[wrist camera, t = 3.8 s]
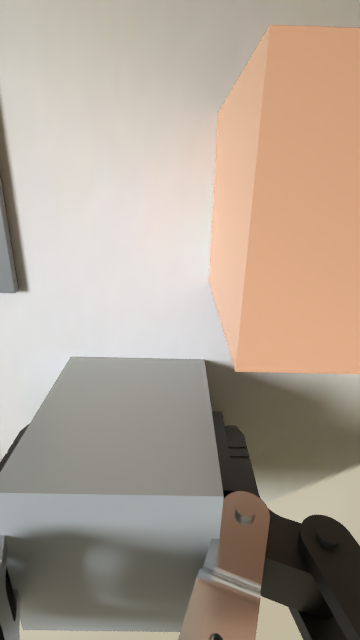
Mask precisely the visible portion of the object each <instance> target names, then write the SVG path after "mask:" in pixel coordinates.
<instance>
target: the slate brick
mask: <svg viewBox="0 0 360 640" xmlns="http://www.w3.org/2000/svg"><path fill="white" fill-rule="evenodd" d="M223 498H224V495H223V488H222V481H221V474H220V467H219V460H218V452H217V445H216V438H215V431H214V424H213V417H212V410H211V402H210V395H209V388H208V381H207V374H206V367H205V360H200V359H152V358H104V357H70V359H69V361H68V362H67V364H66V366H65V367H64V369H63V371H62V372H61V374H60V375H59V377H58V379H57V380H56V382H55V384H54V385H53V387H52V388H51V390H50V392H49V393H48V395H47V397H46V398H45V400H44V402H43V403H42V405H41V406H40V408H39V410H38V411H37V413H36V415H35V416H34V418H33V420H32V421H31V423H30V424H29V426H28V428H27V429H26V431H25V433H24V434H23V436H22V438H21V439H20V441H19V442H18V444H17V446H16V447H15V449H14V451H13V452H12V454H11V456H10V457H9V459H8V460H7V462H6V464H5V465H4V467H3V469H2V470H1V472H0V535H5V539H6V543H7V547H8V553H7V564H6V566H7V569H8V573H9V577H10V581H11V585H12V589H18V592H19V596H20V600H21V603H20V620H21V624H22V628H23V630H68V631H150V632H180V631H181V628H182V625H183V621H184V618H185V615H186V611H187V608H188V604H189V601H190V598H191V594H192V591H193V588H194V584H195V581H196V578H197V575H198V572H199V570H200V568H202V567H203V565H204V562H205V559H206V555H207V552H208V548H209V545H210V541H211V538H212V539H219V538H220V528H221V518H222V508H223Z"/></svg>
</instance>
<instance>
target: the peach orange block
mask: <svg viewBox="0 0 360 640" xmlns="http://www.w3.org/2000/svg"><path fill="white" fill-rule="evenodd" d="M209 284H210V288H211V291H212V294H213V298H214V301H215V304H216V308H217V311H218V315H219V318H220V321H221V325H222V328H223V332H224V335H225V338H226V342H227V345H228V349H229V352H230V355H231V359H232V362H233V366H234V369H235V372H275V373H327V374H360V28H348V27H317V26H287V25H270V26H269V27H268V29H267V31H266V32H265V34H264V36H263V37H262V39H261V41H260V42H259V44H258V46H257V47H256V49H255V51H254V52H253V54H252V56H251V58H250V59H249V61H248V63H247V64H246V66H245V68H244V69H243V71H242V73H241V74H240V76H239V78H238V79H237V81H236V83H235V85H234V86H233V88H232V90H231V91H230V93H229V95H228V96H227V98H226V100H225V101H224V103H223V105H222V106H221V108H220V110H219V111H218V127H217V144H216V161H215V178H214V196H213V213H212V230H211V247H210V264H209Z"/></svg>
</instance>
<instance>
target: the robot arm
mask: <svg viewBox="0 0 360 640" xmlns="http://www.w3.org/2000/svg"><path fill="white" fill-rule="evenodd" d="M212 417H213V424H214V431H215V438H216V445H217V452H218V460H219V467H220V474H221V481H222V488H223V495H224V498H223V508H222V518H221V528H220V538H219V539H212V538H211V541H210V545H209V548H208V552H207V555H206V559H205V562H204V565H203V567H202V568H200V570H199V572H198V575H197V578H196V581H195V584H194V588H193V591H192V594H191V598H190V601H189V604H188V608H187V611H186V615H185V618H184V621H183V625H182V628H181V631H180V635H179V638H178V640H255V637H256V629H257V621H258V613H259V605H260V597H261V596H263V597H265V598H268V599H270V600H273V601H275V602H278V603H280V604H283V605H285V606H288V607H289V609H290V611H291V614H292V616H293V618H294V620H295V623H296V625H297V627H298V629H299V631H300V633H301V635H302V638H303V640H360V546H359V544H358V543H357V542H356V540H355V539H354V538H353V536H352V535H351V534H350V532H349V531H348V530H347V529H346V528H345V527H344V526H343V525H342V524H341V523H339V522H338V521H336V520H334V519H332V518H330V517H327V516H323V515H312V516H309V517H307V518H306V519H305V520H304V521H303V522H302V524H301V523H298V522H295V521H292V520H289V519H286V518H283V517H280V516H278V515H276V514H275V513H273V512H272V511H271V510H269V509H268V508H267V506H266V504H265V503H264V502H263V501H262V500H261V498H260V496H259V493H258V489H257V485H256V481H255V477H254V473H253V469H252V465H251V461H250V459H249V454H248V450H247V446H246V442H245V438H244V435H243V434H242V433H241V431H240V430H239V429H238V428H237V427H236V426H224V421H223V415H222V412H216V411H212ZM28 426H29V424H28V425H27V426H26V427H25V428H23V429H22V430H21V431H20V432H19V434H18V436H17V437H16V439H15V440H14V442H13V444H12V445H11V447H10V448H9V450H8V453H7V454H6V455H5V456H4V458H3V459H2V461H1V462H0V472H1V470H2V469H3V467H4V465H5V464H6V462H7V460H8V459H9V457H10V456H11V454H12V452H13V451H14V449H15V447H16V446H17V444H18V442H19V441H20V439H21V438H22V436H23V434H24V433H25V431H26V429H27V428H28ZM7 553H8V547H7V543H6V539H5V535H0V640H20V639H19V622H20V621H19V620H20V603H21V600H20V596H19V592H18V589H12V585H11V581H10V577H9V573H8V569H7V566H6V564H7Z"/></svg>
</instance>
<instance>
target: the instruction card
mask: <svg viewBox="0 0 360 640" xmlns="http://www.w3.org/2000/svg"><path fill="white" fill-rule="evenodd" d="M17 291H18V284H17V277H16V271H15V265H14V259H13V252H12V246H11V240H10V233H9V227H8V221H7V215H6V208H5V202H4V196H3V190H2V183H1V177H0V293H16V292H17Z"/></svg>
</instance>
